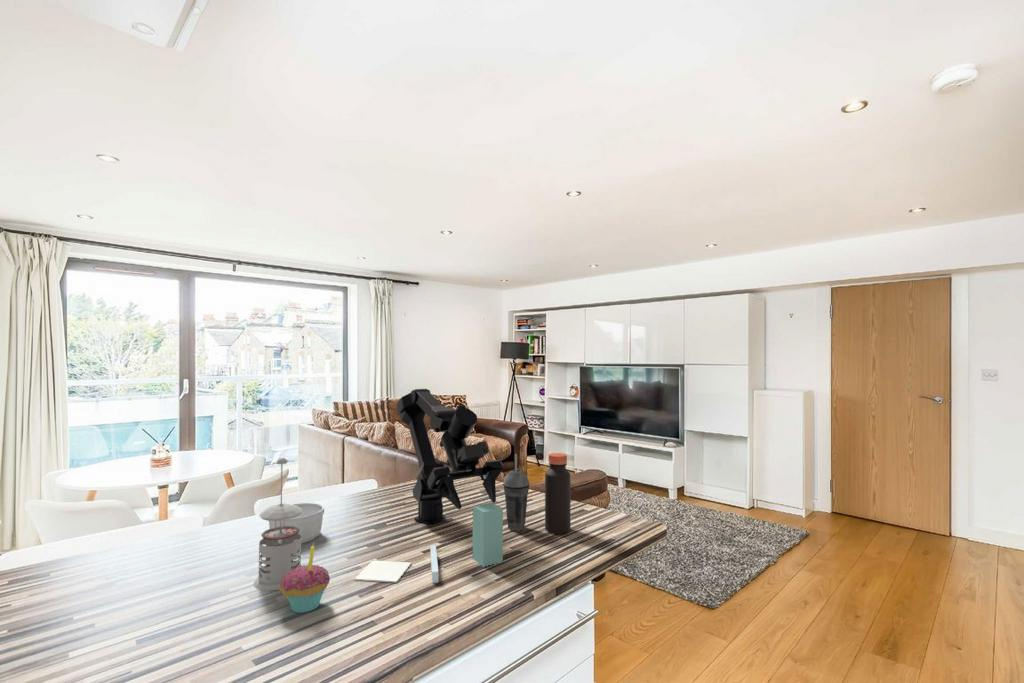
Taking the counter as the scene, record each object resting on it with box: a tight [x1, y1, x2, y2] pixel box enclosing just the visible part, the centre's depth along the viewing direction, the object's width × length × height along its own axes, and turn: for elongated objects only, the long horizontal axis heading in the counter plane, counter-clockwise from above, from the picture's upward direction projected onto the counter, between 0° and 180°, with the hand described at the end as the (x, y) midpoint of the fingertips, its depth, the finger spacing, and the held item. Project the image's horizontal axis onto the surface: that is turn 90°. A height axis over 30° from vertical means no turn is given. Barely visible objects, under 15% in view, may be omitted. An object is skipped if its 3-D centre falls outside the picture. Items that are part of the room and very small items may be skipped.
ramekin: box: [268, 502, 325, 546], centre depth 123 cm, size 13×13×7 cm
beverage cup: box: [502, 453, 531, 532], centre depth 130 cm, size 7×7×20 cm
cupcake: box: [279, 542, 331, 614], centre depth 89 cm, size 9×8×12 cm
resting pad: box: [354, 560, 412, 584], centre depth 103 cm, size 9×9×1 cm
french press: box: [252, 457, 302, 592], centre depth 101 cm, size 10×12×25 cm
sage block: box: [472, 502, 504, 568], centre depth 109 cm, size 5×5×12 cm
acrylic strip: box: [429, 545, 439, 584], centre depth 105 cm, size 14×1×2 cm, turn 11°
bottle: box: [544, 452, 572, 535], centre depth 129 cm, size 7×7×20 cm
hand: (477, 505), depth 113 cm, fingers open, 9 cm apart
